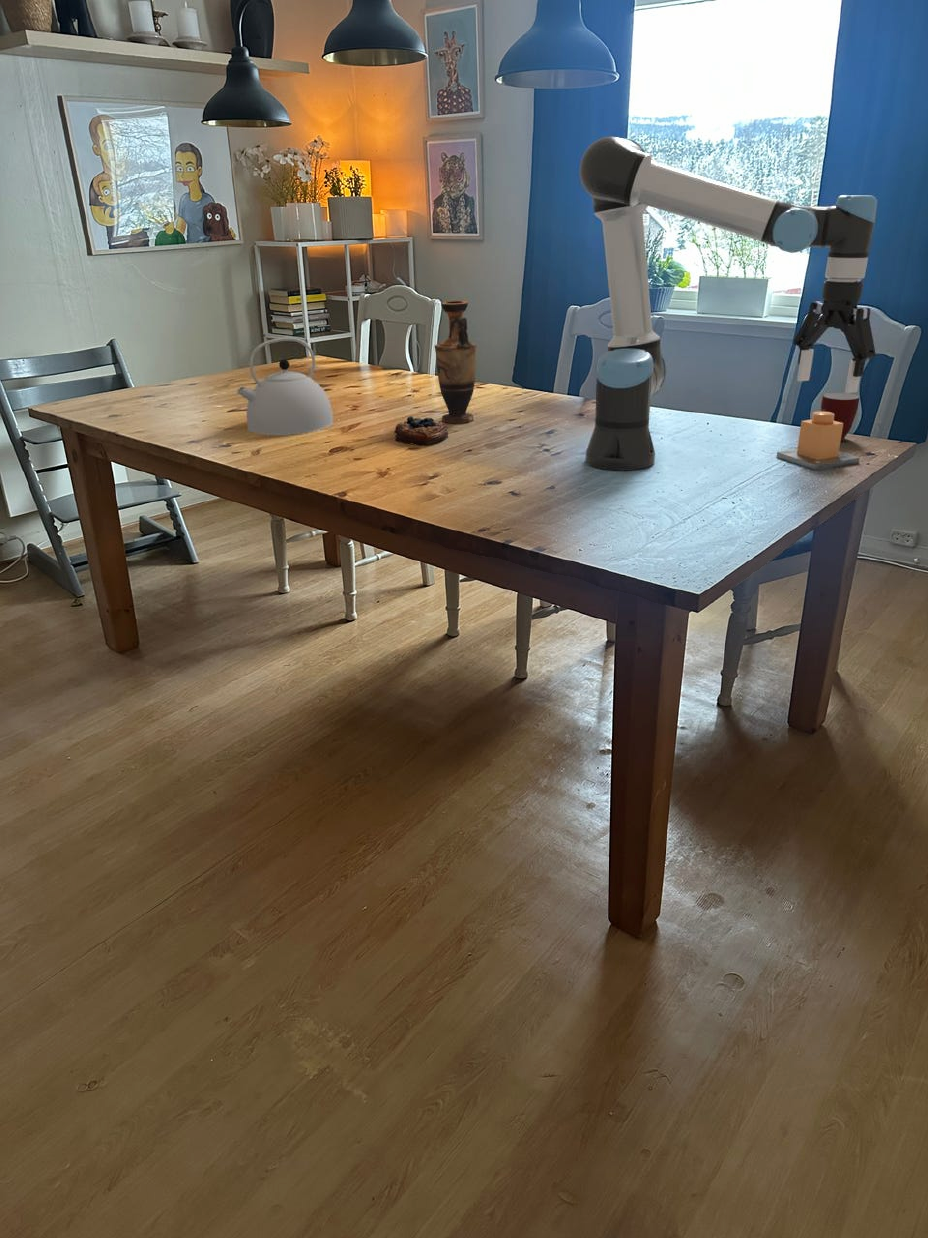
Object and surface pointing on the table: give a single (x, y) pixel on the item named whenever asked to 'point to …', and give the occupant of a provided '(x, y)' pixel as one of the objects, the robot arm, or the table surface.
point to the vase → (456, 365)
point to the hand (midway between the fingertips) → (826, 386)
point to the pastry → (421, 431)
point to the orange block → (820, 436)
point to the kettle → (286, 400)
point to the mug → (841, 408)
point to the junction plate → (818, 464)
